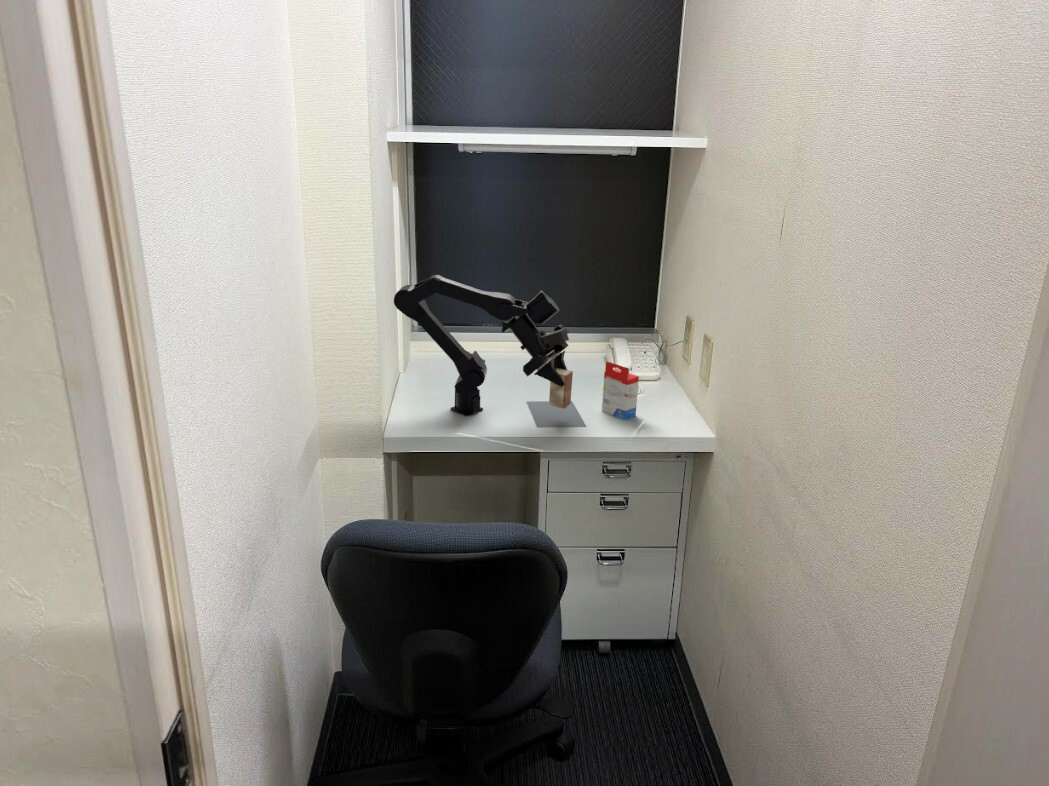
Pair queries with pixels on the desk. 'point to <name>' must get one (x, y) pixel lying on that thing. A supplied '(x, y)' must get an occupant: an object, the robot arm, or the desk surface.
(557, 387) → the beech block
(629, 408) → the ink box
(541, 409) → the slate mat
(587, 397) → the desk surface
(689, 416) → the desk surface
